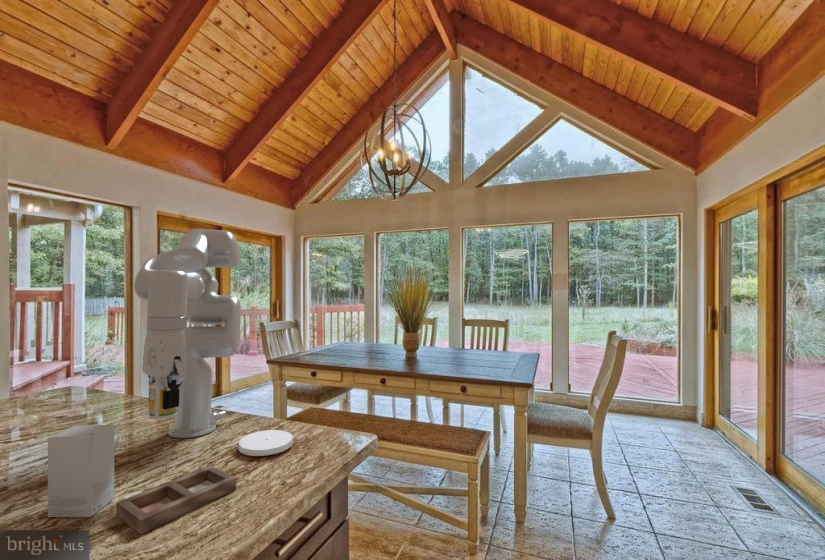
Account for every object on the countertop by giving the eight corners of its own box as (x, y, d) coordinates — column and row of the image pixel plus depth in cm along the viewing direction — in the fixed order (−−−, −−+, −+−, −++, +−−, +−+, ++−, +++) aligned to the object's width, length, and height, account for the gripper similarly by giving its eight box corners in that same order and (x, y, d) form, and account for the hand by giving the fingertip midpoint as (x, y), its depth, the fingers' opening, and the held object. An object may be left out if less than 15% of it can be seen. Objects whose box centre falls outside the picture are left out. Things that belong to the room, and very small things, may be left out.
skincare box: (114, 500, 78) (118, 423, 79) (88, 519, 72) (92, 436, 72) (73, 500, 78) (76, 423, 78) (42, 519, 71) (46, 435, 72)
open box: (210, 476, 89) (210, 465, 89) (236, 489, 84) (236, 477, 84) (115, 515, 73) (116, 502, 73) (140, 534, 68) (141, 520, 68)
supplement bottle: (143, 420, 83) (145, 375, 83) (157, 412, 88) (158, 370, 88) (169, 419, 83) (171, 375, 83) (182, 412, 88) (183, 370, 89)
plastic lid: (226, 456, 100) (227, 446, 100) (259, 436, 114) (259, 427, 114) (274, 462, 97) (274, 452, 97) (301, 441, 111) (302, 432, 111)
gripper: (130, 323, 87) (127, 402, 87) (168, 328, 78) (164, 417, 78) (165, 321, 94) (162, 395, 93) (204, 326, 85) (201, 408, 84)
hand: (163, 404), depth 86 cm, fingers closed on supplement bottle, 5 cm apart
